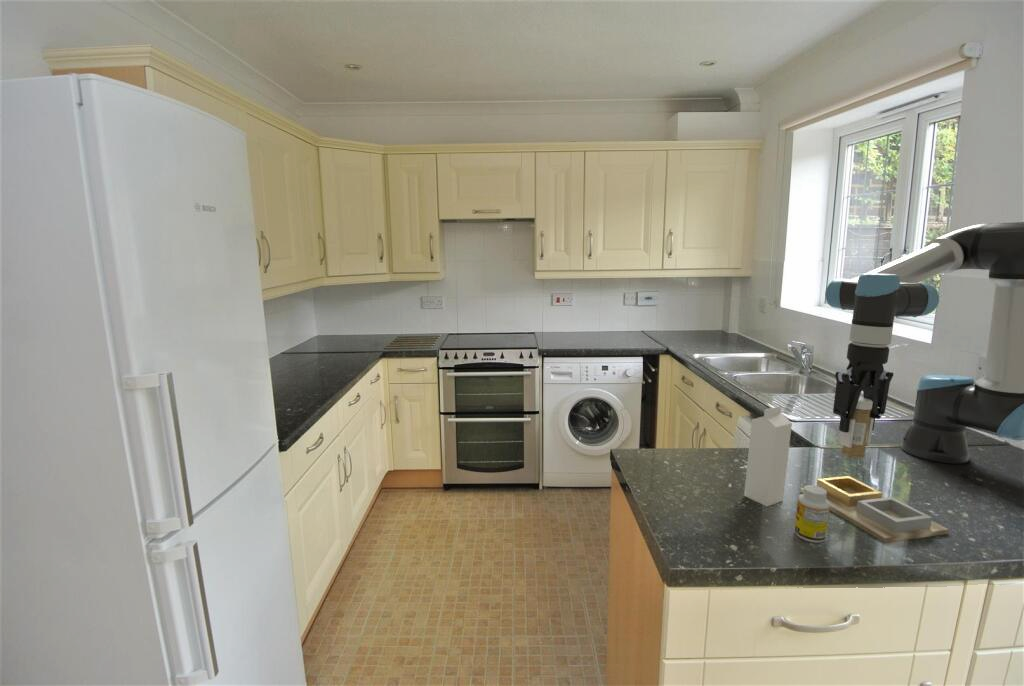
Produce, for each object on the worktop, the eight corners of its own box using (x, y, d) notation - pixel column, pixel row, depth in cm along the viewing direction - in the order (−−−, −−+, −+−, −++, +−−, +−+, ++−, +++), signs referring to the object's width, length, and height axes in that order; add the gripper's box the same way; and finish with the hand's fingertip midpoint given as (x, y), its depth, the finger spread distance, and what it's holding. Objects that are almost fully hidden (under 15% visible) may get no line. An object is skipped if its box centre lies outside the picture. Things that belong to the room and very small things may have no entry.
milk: (783, 501, 118) (794, 409, 114) (766, 507, 115) (777, 413, 111) (759, 490, 123) (769, 402, 119) (743, 495, 120) (752, 406, 116)
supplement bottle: (797, 526, 107) (802, 480, 105) (827, 535, 103) (834, 488, 102) (791, 537, 103) (796, 489, 101) (822, 547, 99) (829, 498, 97)
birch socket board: (855, 486, 126) (855, 482, 126) (947, 533, 105) (948, 529, 105) (800, 492, 122) (800, 488, 122) (884, 542, 101) (885, 538, 101)
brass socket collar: (847, 485, 124) (848, 475, 123) (881, 503, 115) (882, 492, 115) (816, 488, 122) (817, 479, 122) (848, 507, 113) (849, 496, 113)
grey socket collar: (889, 507, 113) (891, 496, 113) (930, 528, 105) (932, 517, 104) (856, 511, 111) (857, 500, 111) (894, 533, 103) (896, 522, 102)
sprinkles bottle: (868, 456, 116) (876, 400, 114) (858, 460, 114) (867, 402, 111) (846, 450, 120) (854, 395, 118) (836, 454, 117) (844, 397, 115)
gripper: (885, 340, 118) (870, 436, 122) (822, 341, 114) (809, 440, 118) (917, 346, 111) (900, 448, 115) (850, 347, 107) (835, 453, 111)
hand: (854, 444), depth 116 cm, fingers closed on sprinkles bottle, 4 cm apart
